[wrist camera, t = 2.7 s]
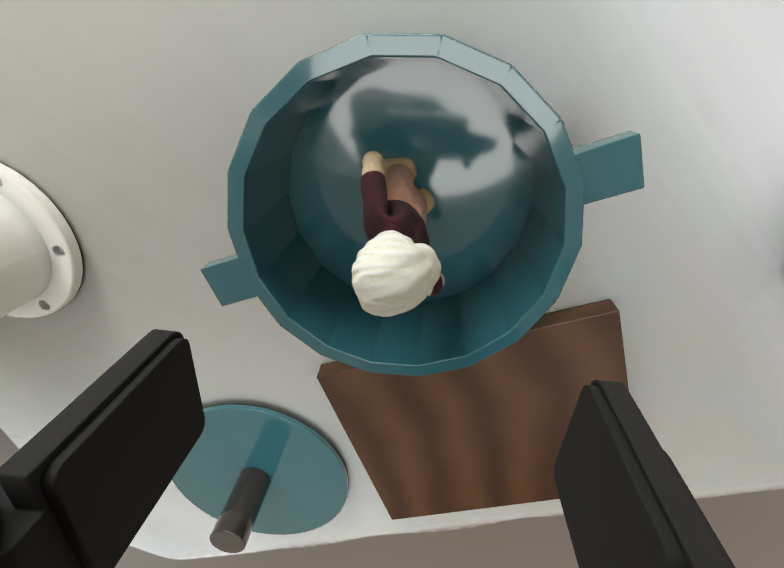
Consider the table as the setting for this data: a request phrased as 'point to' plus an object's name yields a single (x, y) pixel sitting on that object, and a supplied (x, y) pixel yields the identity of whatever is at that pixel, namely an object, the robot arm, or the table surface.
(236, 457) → the lid
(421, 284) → the grandmother figurine
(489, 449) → the board
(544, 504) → the table surface
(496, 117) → the pot
